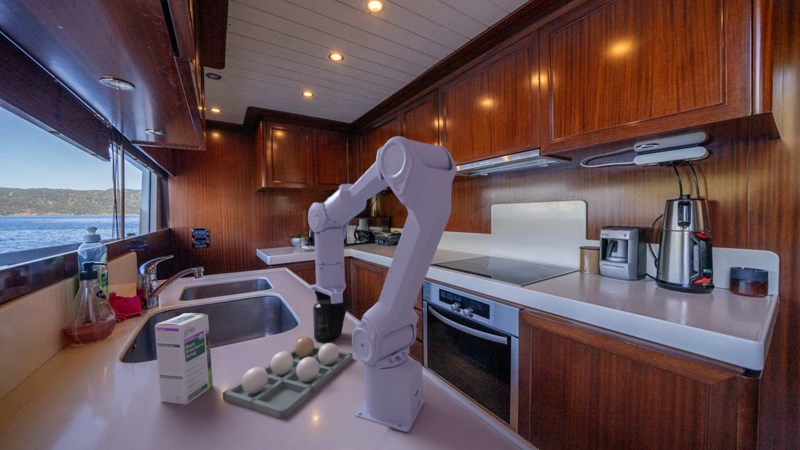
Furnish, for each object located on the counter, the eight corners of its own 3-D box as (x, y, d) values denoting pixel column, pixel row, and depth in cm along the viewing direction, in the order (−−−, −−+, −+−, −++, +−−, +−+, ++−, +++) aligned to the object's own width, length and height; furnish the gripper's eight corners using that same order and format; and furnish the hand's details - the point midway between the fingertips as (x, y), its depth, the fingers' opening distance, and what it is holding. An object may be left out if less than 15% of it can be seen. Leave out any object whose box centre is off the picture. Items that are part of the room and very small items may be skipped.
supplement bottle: (345, 335, 80) (344, 291, 79) (327, 345, 74) (325, 298, 74) (327, 330, 84) (326, 288, 83) (308, 339, 78) (306, 294, 77)
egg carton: (352, 360, 66) (352, 339, 66) (283, 421, 47) (282, 392, 47) (303, 350, 72) (302, 330, 71) (223, 401, 53) (221, 375, 52)
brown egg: (318, 355, 68) (317, 335, 70) (305, 355, 64) (304, 334, 66) (303, 358, 69) (302, 338, 71) (289, 359, 66) (289, 338, 67)
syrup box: (186, 407, 51) (181, 324, 51) (158, 403, 53) (153, 322, 52) (213, 387, 57) (209, 313, 56) (187, 384, 58) (183, 311, 57)
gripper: (306, 259, 65) (308, 319, 66) (313, 270, 52) (315, 346, 53) (338, 256, 68) (340, 314, 69) (353, 267, 55) (355, 339, 55)
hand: (332, 328), depth 61 cm, fingers open, 7 cm apart
